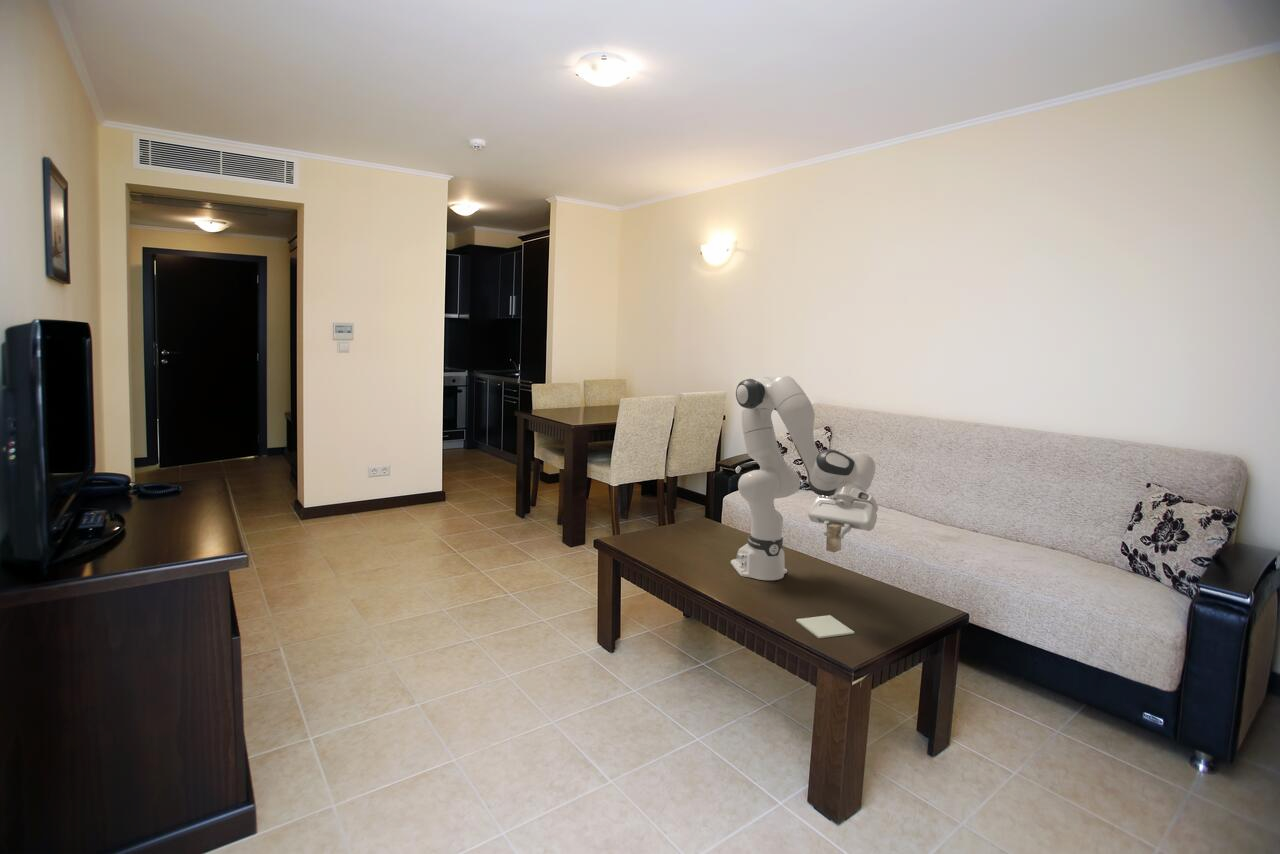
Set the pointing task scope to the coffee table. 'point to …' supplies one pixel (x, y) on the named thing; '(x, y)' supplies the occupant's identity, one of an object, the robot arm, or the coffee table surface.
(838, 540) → the card deck block
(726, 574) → the coffee table surface
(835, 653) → the coffee table surface
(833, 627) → the sage mat
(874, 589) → the coffee table surface
